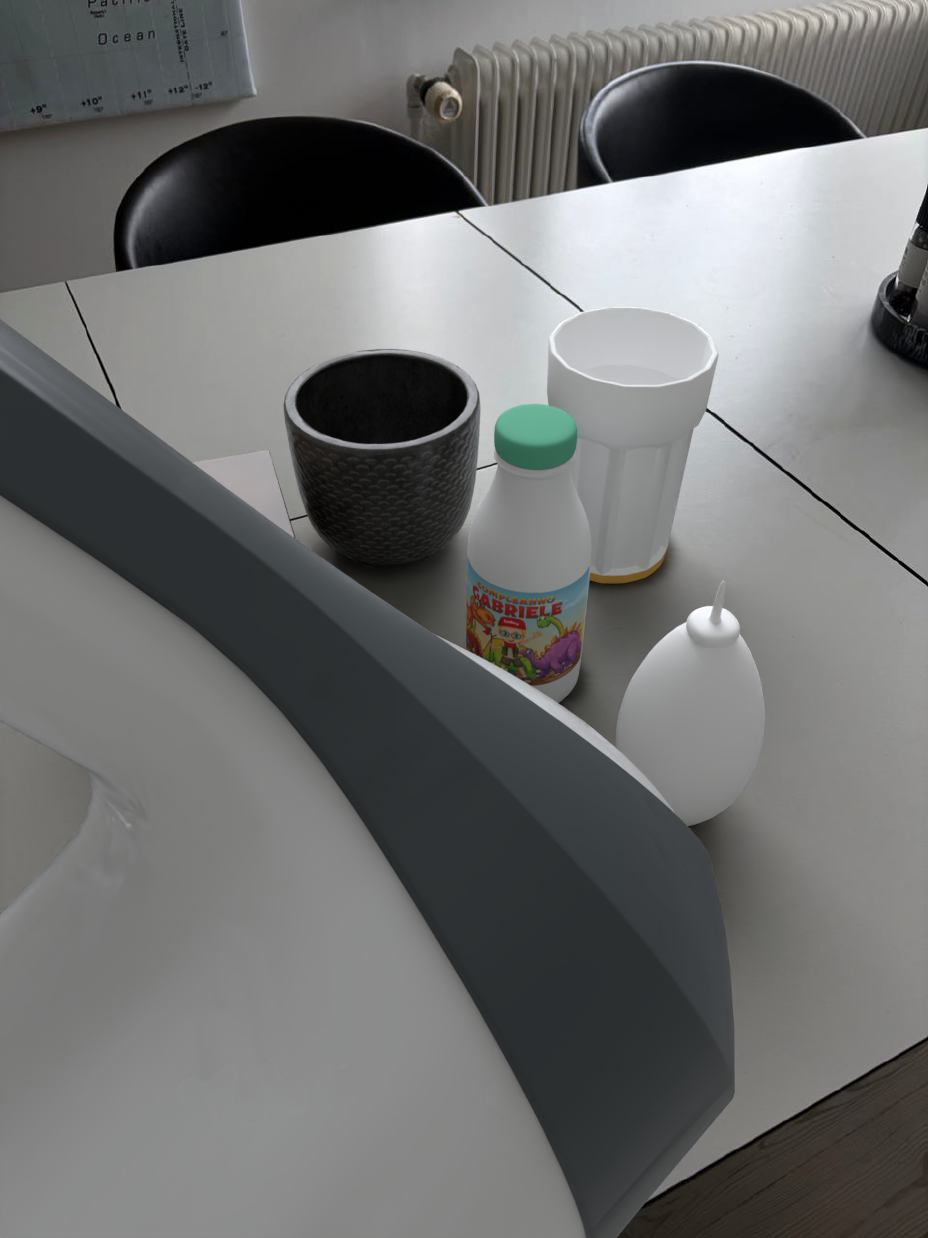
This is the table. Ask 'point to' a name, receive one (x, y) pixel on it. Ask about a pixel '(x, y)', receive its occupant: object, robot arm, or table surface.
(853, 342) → the table surface
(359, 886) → the robot arm
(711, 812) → the sauce bottle
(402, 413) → the planter
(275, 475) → the cabinet
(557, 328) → the cup
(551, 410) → the milk bottle
